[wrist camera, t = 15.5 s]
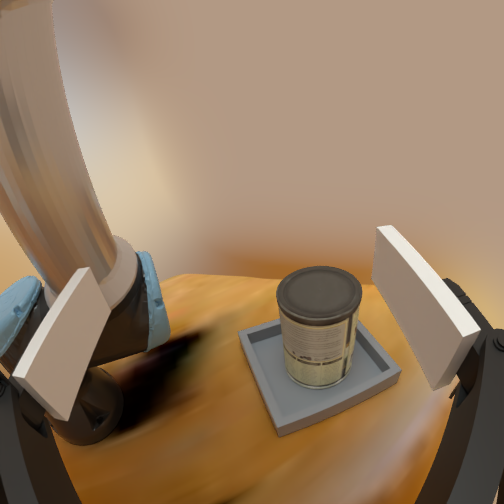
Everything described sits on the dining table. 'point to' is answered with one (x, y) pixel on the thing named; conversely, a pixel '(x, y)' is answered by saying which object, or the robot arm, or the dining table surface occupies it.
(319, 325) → the coffee can
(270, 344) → the tray
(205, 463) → the dining table surface
